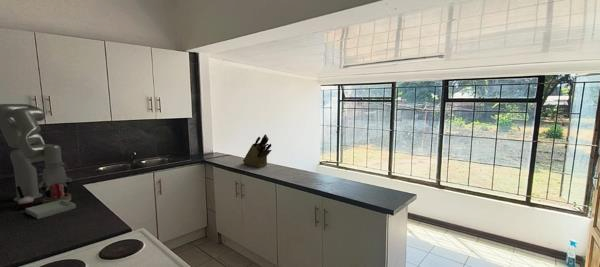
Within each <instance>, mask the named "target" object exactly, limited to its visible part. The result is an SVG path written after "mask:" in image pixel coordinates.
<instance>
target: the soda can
mask: <svg viewBox="0 0 600 267" xmlns="http://www.w3.org/2000/svg"><path fill="white" fill-rule="evenodd" d="M49 191H50V197H49V200H54V199H60V198H64V197H65V196H64V186H63V184H62V183H61V182H59V183H54V184H53V185H52V186H50V188H49Z"/></svg>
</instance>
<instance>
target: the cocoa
mask: <svg viewBox="0 0 600 267" xmlns="http://www.w3.org/2000/svg"><path fill="white" fill-rule="evenodd" d="M15 188H17V191H18V193H19V196H20V198H21V199H20V200H19V201H17V206H18V208H19V209H21V210H26V208H30V207H34V203H35V201H34V200H35V199H34V198H33V197H32V196H26V197H24V195H23V193H22V190H21V188H20V186H18V187H16V186H15ZM17 191H16V192H17Z"/></svg>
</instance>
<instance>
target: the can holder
mask: <svg viewBox="0 0 600 267" xmlns="http://www.w3.org/2000/svg"><path fill="white" fill-rule="evenodd" d="M64 196H65V197H64V198H60V199H54V200H49V197H47V196H45V197H43V198H42V199H41V203H42V204H46V203H50V202H54V201H59V200H66V201H69V202H71V200H72V195H71V193H66V194H64ZM42 204H41V205H42Z"/></svg>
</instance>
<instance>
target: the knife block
mask: <svg viewBox="0 0 600 267" xmlns="http://www.w3.org/2000/svg"><path fill="white" fill-rule="evenodd" d="M269 140H270V138H268V136H267V134H263V137H262V138H261V137H260V136H258V137H257V138H256V140H255V142H254V143H253V144H251V146H250V148H249V149H248V151H247V153H246V155H245V157H244V158H243V160H242V162H243V163H244V164H245V165H249V166H252V167H256V168H261V167H266V166H267V165H268V155H270V153H271V152H272V149H271V147H272V143H269V144H268V141H269Z"/></svg>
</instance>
